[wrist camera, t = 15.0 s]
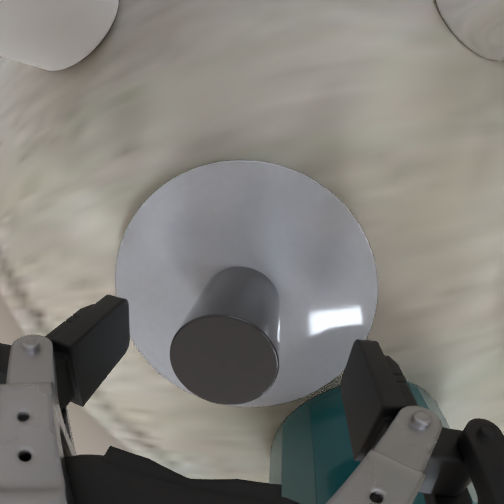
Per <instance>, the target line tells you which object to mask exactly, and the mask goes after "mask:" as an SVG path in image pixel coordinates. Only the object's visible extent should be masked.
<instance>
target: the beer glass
mask: <svg viewBox="0 0 504 504" xmlns="http://www.w3.org/2000/svg"><path fill="white" fill-rule="evenodd" d="M436 4H437V7H438V9H439V11H440V14H441V16H442V17H443V19H444V21H445V22H446V24H447V25H448V27H449V28H450V29H451V31H452V32H453V33H454V34H455V35H456V36H457V38H458V39H459V40H460V41H461V42H462V43H464V44H465V45H466V46H467V47H468V48H469V49H471V50H472V51H474V52H475V53H477V54H478V55H480V56H482V57H484V58H486V59H489V60H493V61H504V0H436Z"/></svg>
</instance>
